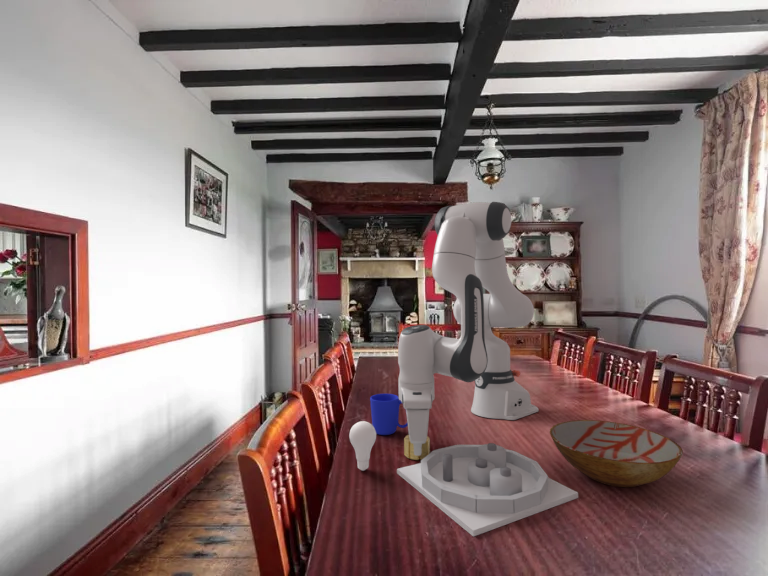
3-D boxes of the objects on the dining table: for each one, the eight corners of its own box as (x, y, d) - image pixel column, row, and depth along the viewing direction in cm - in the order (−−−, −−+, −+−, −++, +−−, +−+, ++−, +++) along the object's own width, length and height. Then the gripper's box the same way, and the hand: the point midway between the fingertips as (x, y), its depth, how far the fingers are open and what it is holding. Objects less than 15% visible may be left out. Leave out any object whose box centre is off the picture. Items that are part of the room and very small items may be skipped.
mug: (410, 439, 110) (410, 402, 110) (367, 436, 113) (367, 400, 113) (414, 428, 119) (413, 394, 118) (374, 426, 121) (373, 392, 121)
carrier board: (487, 450, 102) (486, 426, 102) (578, 497, 79) (577, 467, 79) (397, 473, 90) (396, 446, 90) (473, 536, 67) (472, 500, 67)
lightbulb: (349, 465, 95) (349, 418, 95) (375, 463, 95) (375, 417, 95) (349, 477, 89) (349, 427, 89) (377, 475, 89) (377, 425, 89)
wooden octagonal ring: (420, 447, 104) (420, 432, 104) (434, 456, 99) (433, 440, 99) (400, 452, 101) (400, 436, 101) (413, 461, 96) (412, 444, 96)
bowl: (690, 520, 71) (689, 474, 71) (539, 484, 85) (539, 446, 85) (677, 466, 93) (677, 431, 93) (559, 444, 106) (559, 413, 106)
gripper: (403, 381, 110) (404, 432, 110) (403, 403, 90) (404, 465, 90) (426, 381, 110) (427, 432, 110) (432, 403, 90) (432, 466, 90)
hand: (417, 447), depth 100 cm, fingers closed on wooden octagonal ring, 6 cm apart
